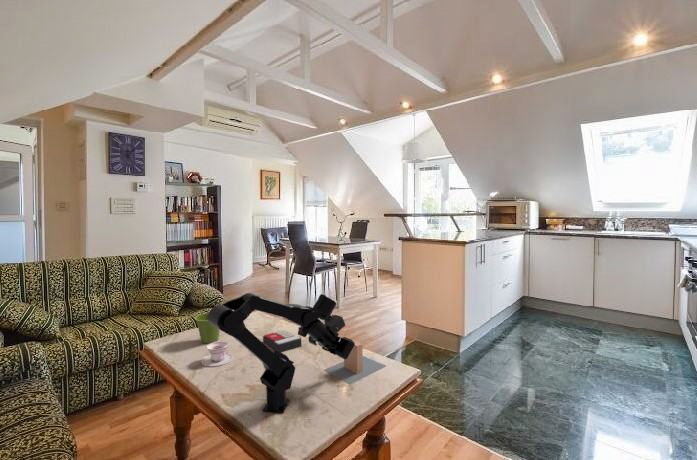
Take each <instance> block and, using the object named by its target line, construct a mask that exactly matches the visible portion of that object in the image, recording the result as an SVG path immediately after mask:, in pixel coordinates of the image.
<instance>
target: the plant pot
mask: <svg viewBox="0 0 697 460" xmlns="http://www.w3.org/2000/svg"><path fill="white" fill-rule="evenodd" d="M209 312H210V311H209ZM209 312H203V313H199V314H197V315H196V316H194V320H195V322H196V325H197V328H198V334H199V338H200V342H201V343H204V344H210V343H213V342H216V341H219V339H220V331H221V330H220V329H218V328H216V327H215V326H213V325H211V324H210V323H209V321H208V315H209Z"/></svg>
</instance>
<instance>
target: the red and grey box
mask: <svg viewBox="0 0 697 460" xmlns="http://www.w3.org/2000/svg"><path fill="white" fill-rule="evenodd" d="M262 343H263V344H264V345H265V346H267V347H269V348H271V349H272V350H274V351H275V350H277V351H279V352H281V353H285V352H288V351H291V350H295V349H298V348H301V347H302V338H301V337H299V336H298V335H295V334H294V333H292V332H290V331H288V330H285V329H282V330H279V331H275V332H271V333H267V334H264V335H263V336H262Z"/></svg>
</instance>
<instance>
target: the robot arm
mask: <svg viewBox="0 0 697 460" xmlns="http://www.w3.org/2000/svg"><path fill="white" fill-rule="evenodd" d="M337 305H338V304H337V302H336V301H335V300H334V299H331V298H330V297H328V296H326V294H323V293H321V294H320V295H319V296H318V298H317V300H316V302H315V303H314V305H313V307H312V306H308V305H305V306H303V305H300V304H297V303H296V304H295V303H287V304H286V303H281V302H279V301H275V300H272V299H268V298H265V297H263V296H262V297H261V296H259V295H257V294H254V293H253V292H247V293H244V294H242V295H241V296H239V297H236V298H233V299H230V300H228V301H226V302H224V303H222V304H217V305H215V306H213V307H212V308H211V309H210V310H209V315H208V321H209V323H210V324H211V325H213V326H215V327H216V328H218V329H220V331H221V332H223V333H225V334H227V335H229V336H231V337H233V338H234V339H235V340H236V341H237V342H238V343H239V344H241V345H242V347H244V348H245V349H246V350H247V351H249V353H251V354H252V355H253V356H254V357H255V358H257V359H258V360H259V362H261V363H262V365H263V368H264V369H265V370H264V372H263V373H262V374H261V376H260V378H259V380H260V382H261V384H262V385H264V386H265V391H266V392H265V393H266V395H265V396H266V403H265V404H264V406H263V407H262V412H264V413H265V412H266V413H267V412H268V413H278V414H279V413H280V414H283V413H285V410H286V409H287V407H288V406H289V404H290V402H291V399H290V398H287V391H288V390H290V389H291V387H292V384H293V383H292V382H293V379H294V376H295V371H296V366H295V365H294V364H295V361H293V360H292V359H290V358H289V357H288V355H286V354H284V352H279V351H277V350H274V351H272V350H271V349H270V347H269V346H267V345H266V344H265V343H263V341H261V340H260V339H259V338H258V337H257V336H256V335H255V334H253V333H252V332H251V331H250V330H249V329H248V328H247V326H246V324H245V322H244V321H245V320H247V319H248V318H249V316H250V315H251V314H252V313H253V312H254V311H259V312H263V313H267V314H270V315H274V316H278V317H282V318H284V319H286V320H287V321H288V322H291V323H293V324H296V325H298V326H299V327H298V331H297V336H301V337H303V338H307V336H308V342H309V344H311V345H313V346H315V347H316V346H317V345H318V346H320V347H322V348H321V349H322V350H323V351H326V352H329V353H330V354H332V355H334V356H335V355H336V357H339V358H341V359H343V360H344V359H347V358H348V356H349V354H350V352H351V351H352V349H353V347H354V345H355V342H354V341H355V340H353V339H351V338H348V337H346V336H343V337H341V336H339V335H340V333H339V332H340V331H341V330H342V329H343V328H344V327H346V322H345V320H344V318H343V316H340V315H338V314H332V313H333V312H334V310H335V309H336V307H337ZM322 321H323V322H322ZM268 347H269V348H268Z"/></svg>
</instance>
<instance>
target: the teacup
mask: <svg viewBox="0 0 697 460" xmlns="http://www.w3.org/2000/svg"><path fill="white" fill-rule="evenodd" d="M228 346H229V342H228V341H226V340H217V341H215V342H213V343H208V344H207V345H206V347H205V348H206V349H207V350H208V352H209V353H210V354H209V355H207V356H204V357H203V358H202V359H201V362H200V363H201V365H202V366H205V367H211V368H213V367H214V368H215V367H220V366H224V365H227V364H229V363H231V362H232V361H233V360H235V359H234V357H235V356H234V354H233V353H231V352H226V351H227V348H228ZM228 355H229V356H228ZM230 356H231V357H230ZM229 357H230V358H231V359H229Z"/></svg>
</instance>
